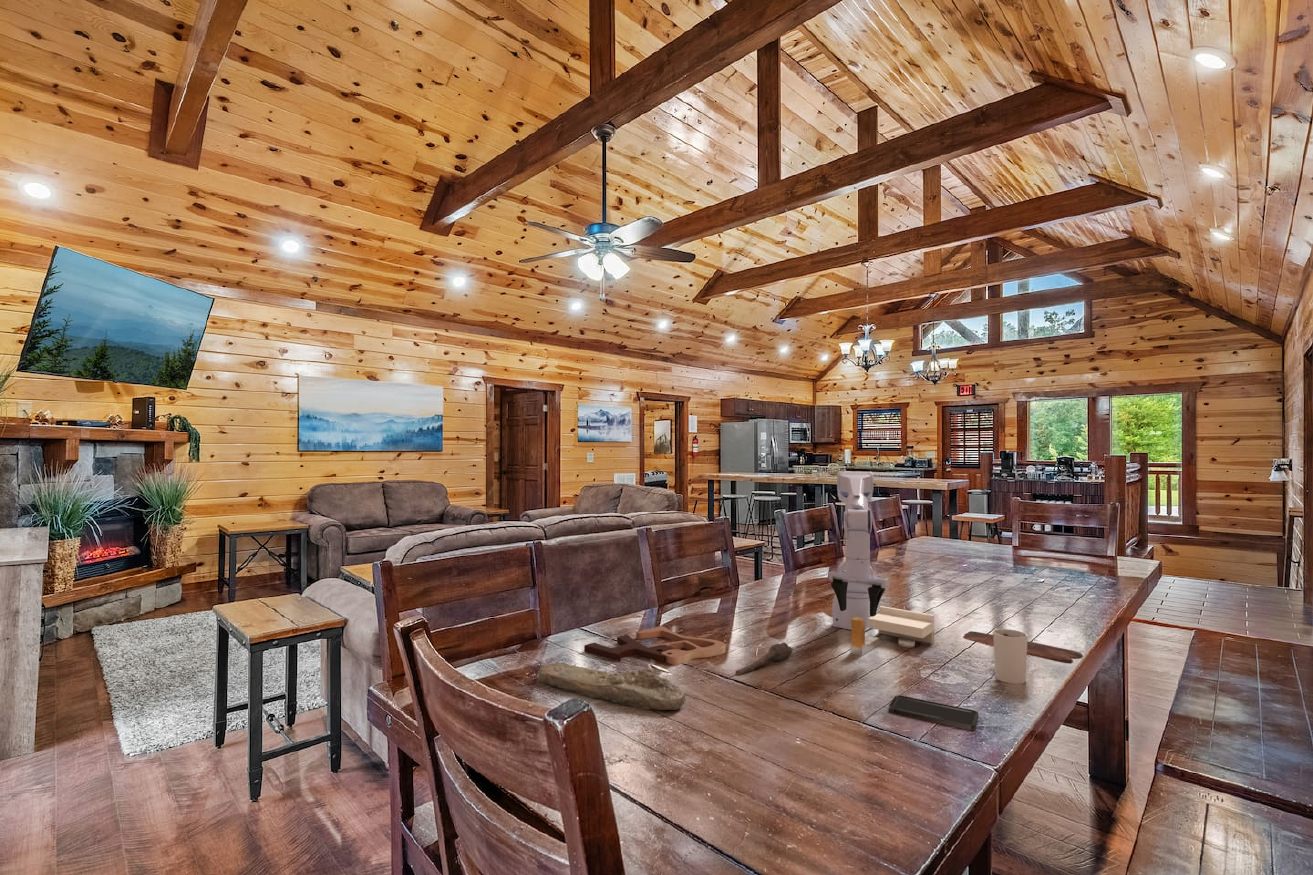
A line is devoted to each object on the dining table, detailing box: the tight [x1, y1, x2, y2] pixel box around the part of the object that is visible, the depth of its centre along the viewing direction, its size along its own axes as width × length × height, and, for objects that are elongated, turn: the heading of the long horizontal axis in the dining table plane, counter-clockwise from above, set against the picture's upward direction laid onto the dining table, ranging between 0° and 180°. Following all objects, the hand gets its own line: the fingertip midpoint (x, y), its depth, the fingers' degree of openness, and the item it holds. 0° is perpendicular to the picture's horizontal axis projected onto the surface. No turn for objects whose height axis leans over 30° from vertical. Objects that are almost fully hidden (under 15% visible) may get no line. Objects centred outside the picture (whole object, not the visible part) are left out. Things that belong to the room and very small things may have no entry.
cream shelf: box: [868, 605, 935, 645], centre depth 163 cm, size 14×9×7 cm, turn 49°
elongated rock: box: [538, 662, 686, 711], centre depth 128 cm, size 35×5×10 cm
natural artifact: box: [735, 642, 794, 677], centre depth 145 cm, size 4×23×4 cm
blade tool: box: [849, 617, 880, 657], centre depth 156 cm, size 3×11×8 cm, turn 139°
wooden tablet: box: [962, 630, 1083, 664], centre depth 158 cm, size 26×2×10 cm
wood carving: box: [583, 625, 726, 666], centre depth 153 cm, size 28×2×24 cm
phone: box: [888, 694, 979, 731], centre depth 118 cm, size 8×1×15 cm
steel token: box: [897, 637, 916, 649], centre depth 159 cm, size 4×4×2 cm
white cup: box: [992, 628, 1029, 685], centre depth 136 cm, size 7×7×10 cm
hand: (857, 612), depth 152 cm, fingers open, 7 cm apart
